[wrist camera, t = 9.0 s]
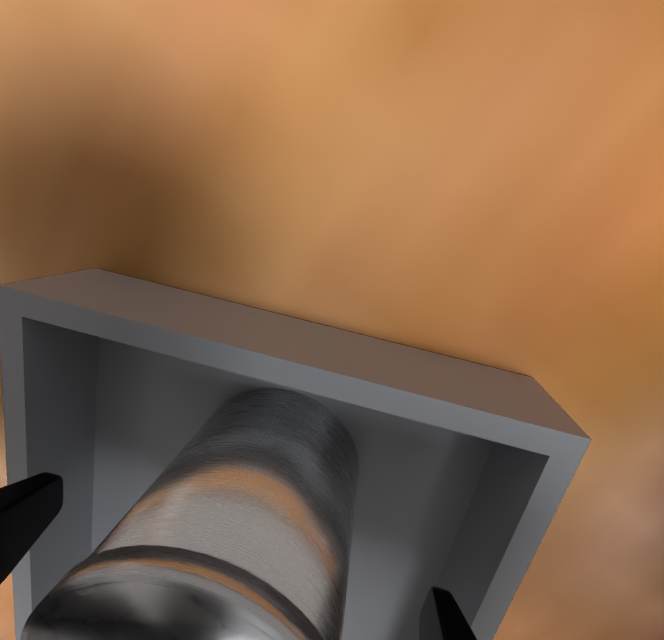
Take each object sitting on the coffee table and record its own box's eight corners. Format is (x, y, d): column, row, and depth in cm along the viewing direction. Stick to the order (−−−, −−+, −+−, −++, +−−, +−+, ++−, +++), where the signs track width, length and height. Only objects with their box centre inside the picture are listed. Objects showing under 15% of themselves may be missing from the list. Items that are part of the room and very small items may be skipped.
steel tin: (341, 548, 12) (302, 851, 6) (191, 504, 12) (24, 753, 7) (381, 410, 10) (376, 644, 5) (208, 366, 11) (11, 532, 5)
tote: (533, 377, 10) (591, 439, 7) (386, 729, 15) (387, 851, 12) (96, 267, 11) (-4, 285, 8) (86, 631, 16) (19, 722, 13)
